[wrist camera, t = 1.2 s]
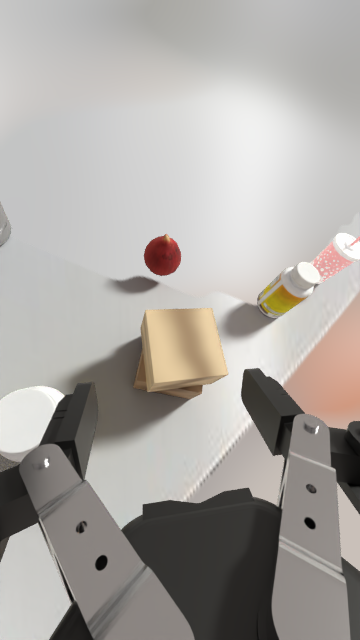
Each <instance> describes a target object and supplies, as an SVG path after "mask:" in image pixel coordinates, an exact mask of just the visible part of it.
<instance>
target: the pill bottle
mask: <svg viewBox="0 0 360 640" xmlns="http://www.w3.org/2000/svg"><path fill="white" fill-rule="evenodd" d="M64 396H65V395H63V394H62V393H61V392H60V391H58V390H56V389H54V388H51V387H47V386H33V387H29V388H24V389H19V390H16V391H13V392H11V393H9V394H7V395H6V396H4V397H3V398H2V399H0V454H1V455H2V456H3V457H5V458H7V459H9V460H12V461H15V462H21V461H22V460H23V458H24V457H25V456H26V455H27V454H28V453H29V452H30V451H32V450H33V449H35V448H37V447H38V446H39V444H40V442H41V440H42V437H43V435H44V433H45V431H46V429H47V426H48V424H49V422H50V420H51V418H52V415H53V413H54V412H55V409H56V407H57V404H58V402H59V401H60V400H61V399H62V398H63V397H64Z"/></svg>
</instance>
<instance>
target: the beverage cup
mask: <svg viewBox="0 0 360 640" xmlns="http://www.w3.org/2000/svg"><path fill="white" fill-rule="evenodd" d="M359 240H360V237H358V238H357V239H355V238H354V237H352V236H351V235H348V234H346V233H340V234H337V235H336V237H334V239H333V241H332V242H331V243H330V244H329V245H328V246H327V247H326V248H325V249H324V250H323V251H322V252H321V253H320V254H319V255H318V256H317V257H316V258H315V259H314V260H313V261H312V262H311V263H310V264H311V265H313V266H314V267H315V268H316V269H317V270H318V272H319V274H320V280H319V282H318V283H317V284H320V283H322V282H324V281H325V280H327V279H328V278H330V277H331V276H333V275H335V274H336V273H338V272H339V271H341V270H342V269H344V268H345V267H347V266H348V265H350V264H352V263H353V262H357V261H359V260H360V242H359Z"/></svg>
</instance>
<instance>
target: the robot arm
mask: <svg viewBox="0 0 360 640" xmlns="http://www.w3.org/2000/svg"><path fill="white" fill-rule="evenodd" d="M10 234H11V226H10V222H9V220H8V218H7V216H6V214H5V212H4V210H3V207H2V205H1V203H0V246H1V245H2V244H3V243H5V242H6V240H7V239H8V238H9V236H10ZM241 397H242V401H243V404H244V406H245V407H246V409H247V411H248V413H249V414H250V416H251V418H252V420H253V421H254V423H255V425H256V427H257V428H258V430H259V432H260V433H261V435H262V437H263V438H264V441H265V442H266V444H267V446H268V448H269V449H270V451H271V453H272V455H273V456H275V455H283V457H284V458H285V459H284V463H283V469H282V476H281V482H280V489H279V495H278V501H277V506H276V505H274V504H272V503H270V502H268V501H266V500H263V499H259V498H256V497H252V494H251V492H250V489H249V488H243V489H237V490H231V491H224V492H222V493H220V494H218V495H216V496H214V497H212V498H210V499H208V500H206V501H204V502H202V503H189V502H180V501H172V500H168V501H162V502H156V503H150V504H143V515H141V516H139V517H137V518H135V519H134V520H132V521H131V522H129V523H128V524H127V525H126V526H125V527H124V528H123V529H122V530H121V529H120V528H119V527H118V525H117V524H116V522H115V521H114V519H113V518H112V516H111V515H110V513H109V512H108V510H107V509H106V507H105V506H104V504H103V503H102V502H101V500H100V499H99V497H98V496H97V494H96V493H95V491H94V490H93V488H92V487H91V485H90V484H89V483H88V481H87V480H84V479H85V474H86V469H87V465H88V460H89V456H90V451H91V446H92V442H93V437H94V433H95V428H96V424H97V419H98V404H97V398H96V391H95V385H94V383H93V382H89V383H78V384H77V386H76V388H75V391H74V393H73V394H70V395H66V396H64V397H63V398H62V399H61V400H60V401H59V402H58V404H57V407H56V409H55V412H54V413H53V415H52V418H51V420H50V422H49V424H48V426H47V429H46V431H45V433H44V435H43V437H42V440H41V442H40V444H39V446H38V447H37V448H35V449H33V450H32V451H30V452H29V453H28V454H27V455H26V456H25V457H24V458H23V460H22V461H21V463H20V464H19V465H18V466H15V467H13V468H11V469H8V470H5V471H3V472H0V562H1V559H2V556H3V554H4V551H5V548H6V545H7V543H8V540H9V537H10V536H11V535H13V534H15V533H18V532H20V531H22V530H24V529H26V528H28V527H30V526H32V525H34V524H36V523H38V525H39V527H40V530H41V532H42V534H43V537H44V539H45V542H46V544H47V546H48V549H49V551H50V553H51V556H52V558H53V561H54V563H55V565H56V568H57V570H58V573H59V576H60V578H61V581H62V583H63V586H64V588H65V591H66V593H67V596H68V598H69V600H70V603H71V606H70V607H69V609H68V611H67V612H66V614H65V615H64V617H63V619H62V620H61V622H60V623H59V625H58V626H57V628H56V630H55V631H54V633H53V634H52V636H51V637H50V639H49V640H360V571H358V570H357V569H356V568H355V567H353V566H352V565H351V564H350V563H349V562H347V561H346V560H345V559H343V558H342V557H341V548H340V532H339V514H338V498H337V483H338V484H339V485H340V487H341V488H342V490H343V491H344V492H345V494H346V495H347V497H348V498H349V500H350V501H351V503H352V504H353V506H354V507H355V508H356V510H357V511H358V513H359V514H360V421H353V422H351V423H350V424H349V425H348V428H347V430H344V429H337V428H330V427H328V426H327V425H326V424H325V423H324V422H323V421H322V420H320V419H319V418H317V417H315V416H312V415H309V414H305V413H304V412H303V411H302V410H301V408H300V407H299V406H298V405H297V404H296V402H295V401H294V400H293V399H292V398H291V397H290V396H289V395H288V393H287V392H286V391H285V390H284V389H283V387H282V386H281V385H280V384H279V383H278V382H277V381H276V380H274V379H272V378H271V377H266V376H265V375H264V373H263V372H262V371H261V370H260V369H259V368H256V369H245V370H244V373H243V382H242V390H241Z"/></svg>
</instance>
